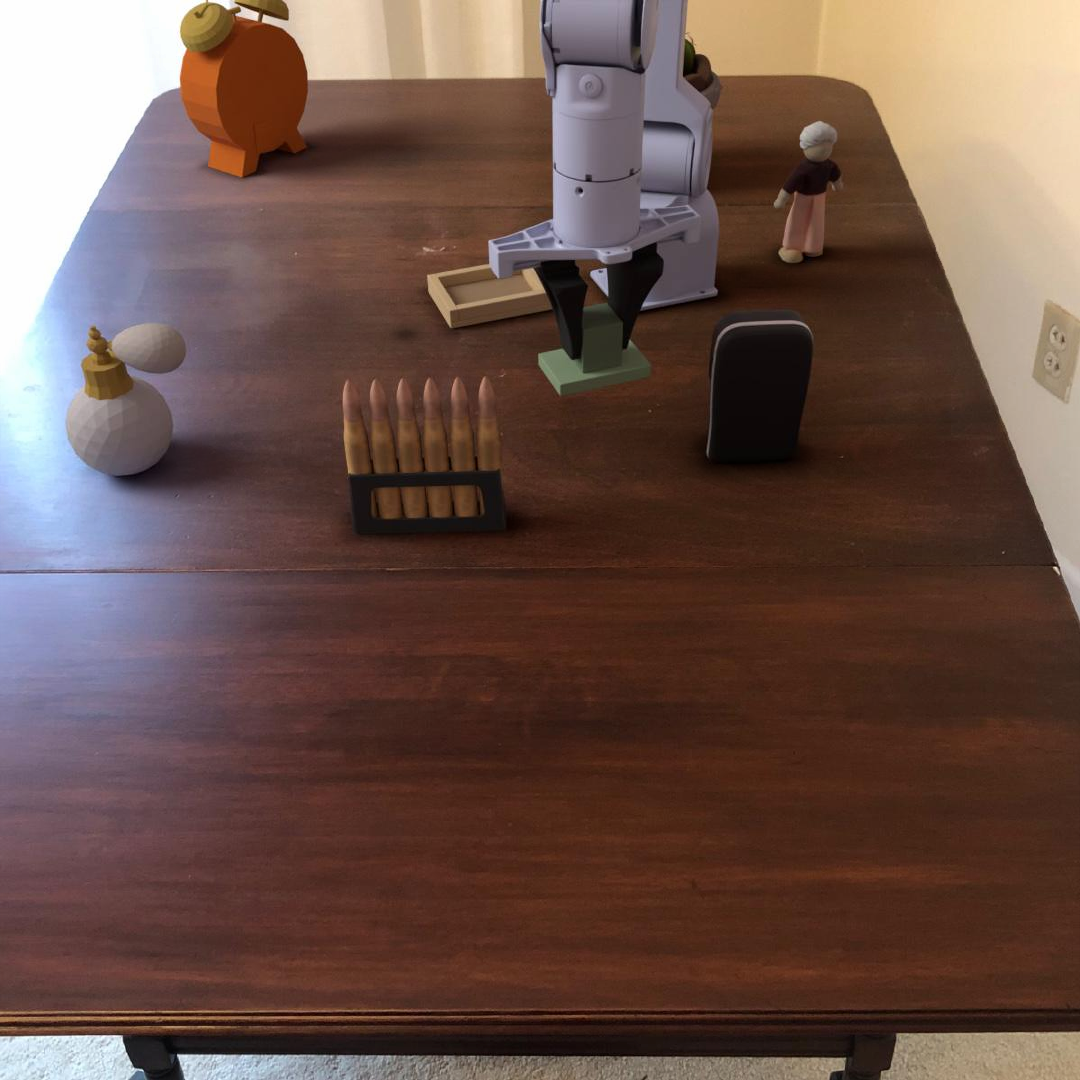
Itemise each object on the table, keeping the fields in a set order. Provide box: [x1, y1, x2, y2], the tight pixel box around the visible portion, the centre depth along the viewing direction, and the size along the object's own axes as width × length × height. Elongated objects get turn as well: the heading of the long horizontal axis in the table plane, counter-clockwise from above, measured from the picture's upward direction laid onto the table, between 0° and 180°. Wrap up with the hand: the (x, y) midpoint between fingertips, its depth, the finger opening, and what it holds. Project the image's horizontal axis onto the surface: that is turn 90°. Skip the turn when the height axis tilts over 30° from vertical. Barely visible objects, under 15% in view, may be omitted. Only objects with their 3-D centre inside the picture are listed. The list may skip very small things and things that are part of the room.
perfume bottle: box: [64, 322, 187, 477], centre depth 88 cm, size 8×10×12 cm
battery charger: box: [705, 309, 814, 463], centre depth 89 cm, size 7×4×11 cm, turn 93°
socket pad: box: [426, 263, 553, 330], centre depth 110 cm, size 10×7×2 cm
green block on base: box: [537, 302, 652, 397], centre depth 87 cm, size 7×4×4 cm, turn 110°
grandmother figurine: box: [773, 120, 844, 264], centre depth 113 cm, size 8×4×13 cm, turn 131°
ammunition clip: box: [342, 375, 507, 535], centre depth 82 cm, size 11×2×12 cm, turn 92°
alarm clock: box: [179, 0, 309, 179], centre depth 130 cm, size 13×6×20 cm, turn 144°
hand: (594, 348), depth 87 cm, fingers closed on green block on base, 3 cm apart
